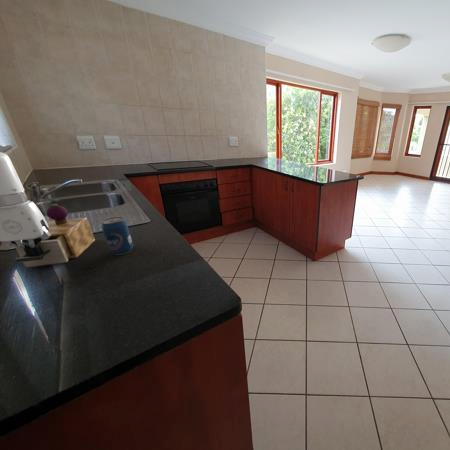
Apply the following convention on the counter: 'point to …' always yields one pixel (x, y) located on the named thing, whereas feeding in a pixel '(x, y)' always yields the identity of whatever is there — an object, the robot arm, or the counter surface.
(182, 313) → the counter surface
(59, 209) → the mangosteen
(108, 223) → the soda can
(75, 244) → the cabinet
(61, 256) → the drawer
